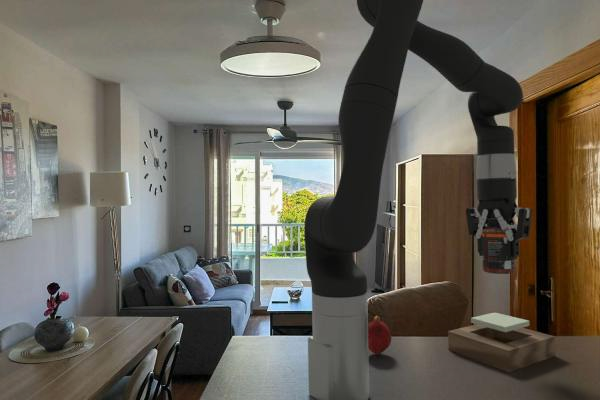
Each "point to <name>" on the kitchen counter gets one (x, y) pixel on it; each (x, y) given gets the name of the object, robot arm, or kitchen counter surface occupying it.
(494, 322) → the plate
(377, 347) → the pomegranate
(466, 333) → the wooden tray
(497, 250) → the supplement bottle
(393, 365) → the kitchen counter surface
